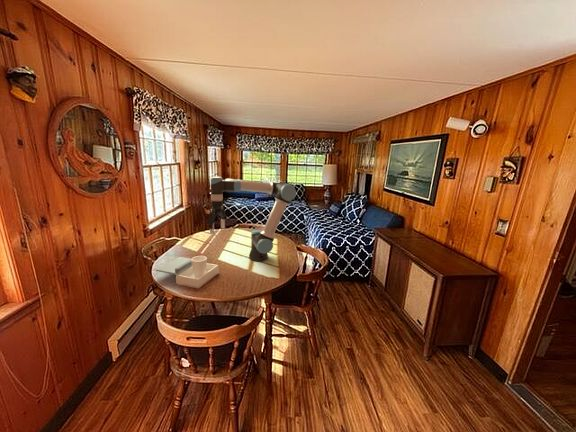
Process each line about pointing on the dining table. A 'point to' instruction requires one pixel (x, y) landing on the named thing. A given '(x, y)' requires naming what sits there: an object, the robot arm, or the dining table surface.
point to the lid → (176, 266)
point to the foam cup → (199, 265)
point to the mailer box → (189, 279)
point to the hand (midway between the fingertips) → (217, 230)
